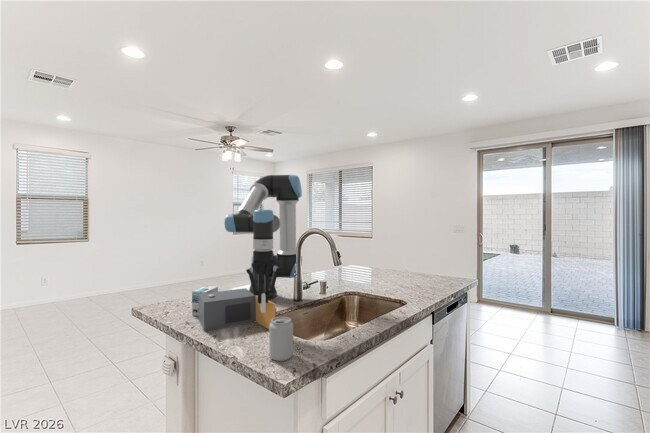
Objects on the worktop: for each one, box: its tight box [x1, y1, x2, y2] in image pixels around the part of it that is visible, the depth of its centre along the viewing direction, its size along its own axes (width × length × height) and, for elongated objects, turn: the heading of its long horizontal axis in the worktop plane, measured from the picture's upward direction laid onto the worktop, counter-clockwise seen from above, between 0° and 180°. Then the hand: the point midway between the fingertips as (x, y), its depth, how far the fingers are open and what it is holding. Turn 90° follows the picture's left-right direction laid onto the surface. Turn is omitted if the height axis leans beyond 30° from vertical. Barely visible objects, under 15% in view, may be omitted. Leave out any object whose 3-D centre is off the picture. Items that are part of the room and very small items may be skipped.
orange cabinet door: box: [255, 295, 277, 330], centre depth 125 cm, size 15×2×10 cm, turn 39°
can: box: [268, 316, 294, 362], centre depth 100 cm, size 8×8×12 cm
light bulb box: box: [191, 285, 219, 317], centre depth 142 cm, size 11×7×11 cm, turn 168°
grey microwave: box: [198, 288, 256, 332], centre depth 132 cm, size 21×14×12 cm
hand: (263, 311), depth 121 cm, fingers closed
